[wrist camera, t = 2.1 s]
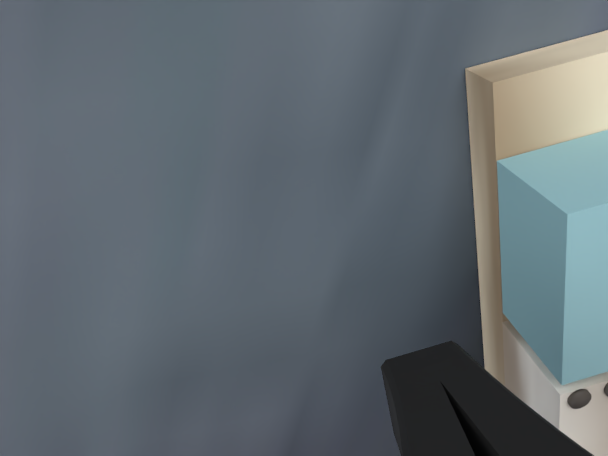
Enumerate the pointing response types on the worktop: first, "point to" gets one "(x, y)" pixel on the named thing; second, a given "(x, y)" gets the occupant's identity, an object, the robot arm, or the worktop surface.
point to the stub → (558, 253)
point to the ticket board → (484, 155)
